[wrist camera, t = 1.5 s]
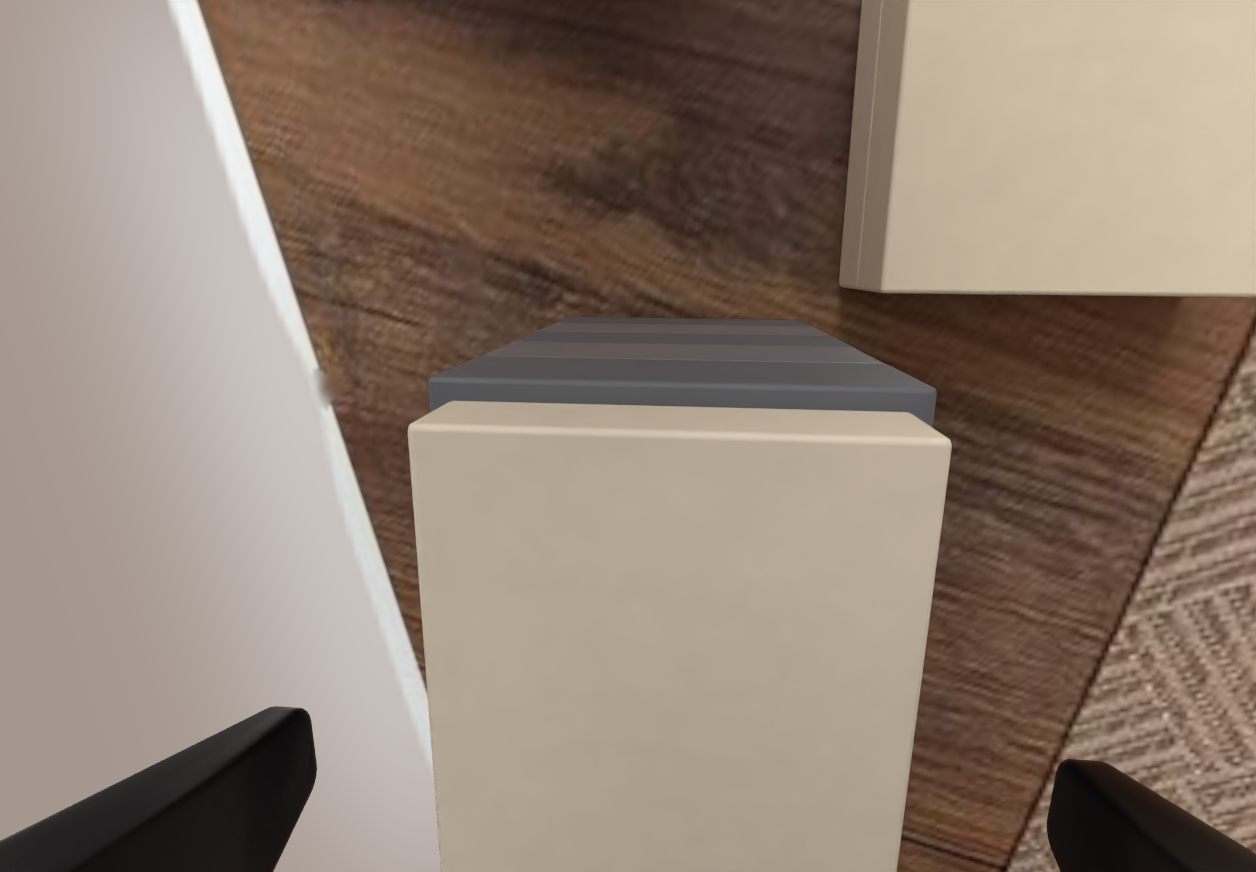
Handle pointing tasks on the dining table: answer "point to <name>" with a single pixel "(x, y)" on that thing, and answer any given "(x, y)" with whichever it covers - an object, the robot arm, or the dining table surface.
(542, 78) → the dining table surface
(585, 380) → the grey stack
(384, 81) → the dining table surface
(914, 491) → the beige flat block
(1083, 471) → the dining table surface
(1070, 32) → the beige rectangular block
